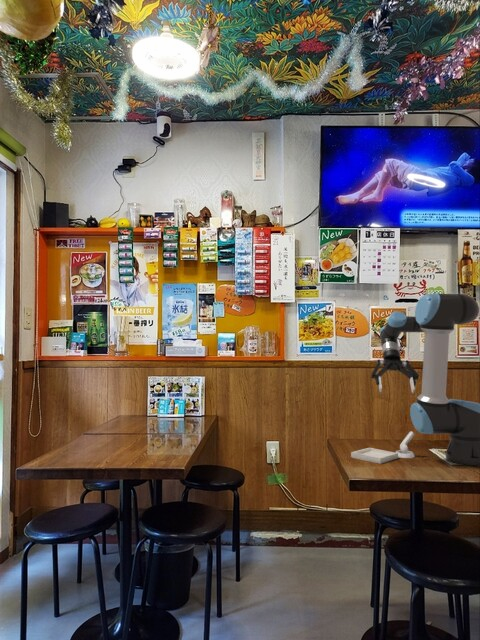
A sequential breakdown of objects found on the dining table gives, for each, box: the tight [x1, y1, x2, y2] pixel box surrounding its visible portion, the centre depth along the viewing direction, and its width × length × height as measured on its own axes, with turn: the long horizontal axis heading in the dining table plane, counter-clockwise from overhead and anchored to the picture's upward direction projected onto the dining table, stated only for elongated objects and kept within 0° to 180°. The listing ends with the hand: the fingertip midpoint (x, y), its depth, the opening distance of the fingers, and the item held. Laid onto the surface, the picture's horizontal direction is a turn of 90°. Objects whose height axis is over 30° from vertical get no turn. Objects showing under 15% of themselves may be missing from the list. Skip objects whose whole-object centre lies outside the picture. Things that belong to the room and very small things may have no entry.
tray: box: [350, 447, 399, 465], centre depth 175 cm, size 13×13×2 cm
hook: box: [395, 431, 415, 459], centre depth 178 cm, size 8×12×7 cm
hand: (397, 390), depth 191 cm, fingers open, 13 cm apart
